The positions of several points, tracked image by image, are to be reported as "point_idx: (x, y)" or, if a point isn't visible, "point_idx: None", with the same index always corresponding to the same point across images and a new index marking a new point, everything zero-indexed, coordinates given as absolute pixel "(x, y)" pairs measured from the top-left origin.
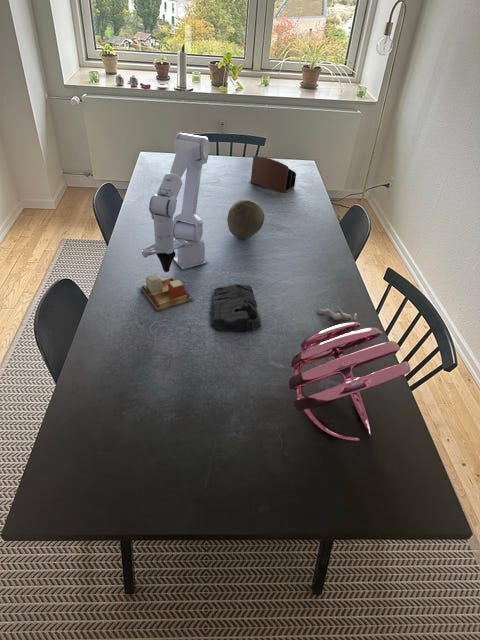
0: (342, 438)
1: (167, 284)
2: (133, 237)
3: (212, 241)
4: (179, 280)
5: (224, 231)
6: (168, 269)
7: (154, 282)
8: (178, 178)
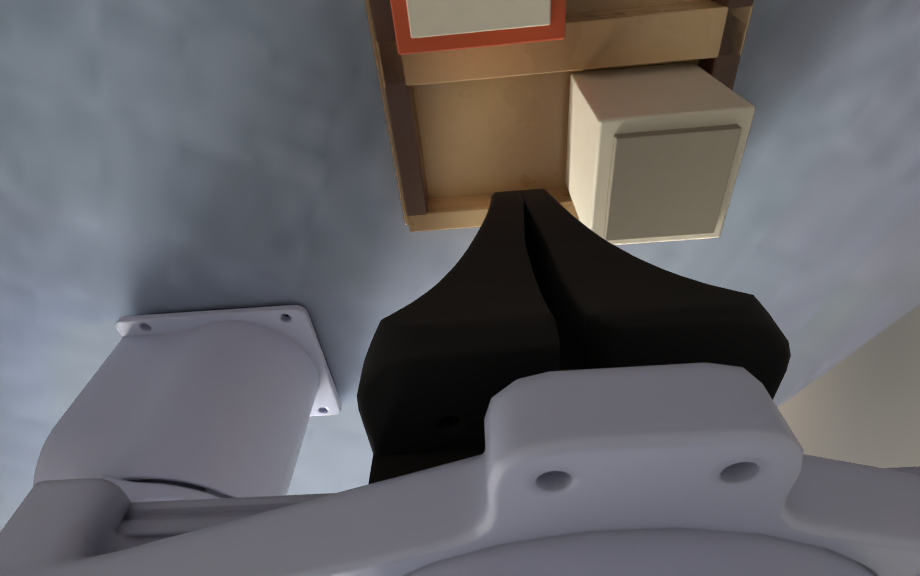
0: None
1: (482, 163)
2: None
3: None
4: (399, 19)
5: (4, 511)
6: (507, 201)
7: (703, 108)
8: None
